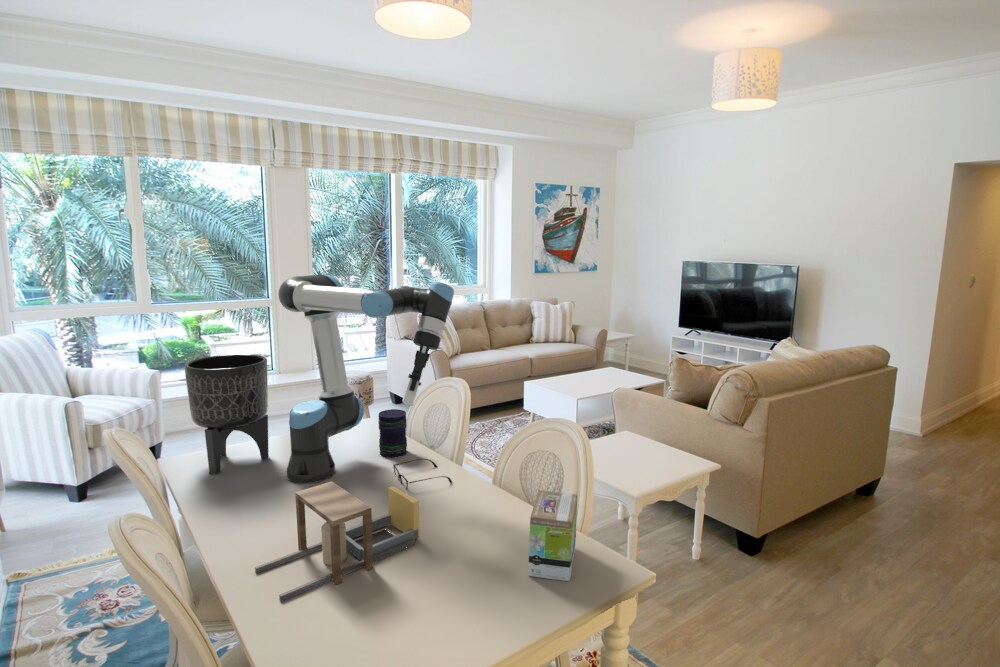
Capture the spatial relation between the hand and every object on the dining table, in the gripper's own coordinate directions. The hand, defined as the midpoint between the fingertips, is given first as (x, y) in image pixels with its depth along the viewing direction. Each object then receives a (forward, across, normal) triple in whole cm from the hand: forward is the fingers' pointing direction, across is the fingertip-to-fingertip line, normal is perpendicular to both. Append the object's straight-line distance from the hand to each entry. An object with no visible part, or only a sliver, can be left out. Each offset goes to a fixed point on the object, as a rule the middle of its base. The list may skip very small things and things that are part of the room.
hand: (407, 404), depth 162 cm
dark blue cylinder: (+16, +47, 0) cm, 50 cm away
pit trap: (+36, -12, -2) cm, 38 cm away
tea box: (+28, -26, -44) cm, 58 cm away
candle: (+41, -17, +6) cm, 45 cm away
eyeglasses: (+21, +25, -11) cm, 34 cm away
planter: (+33, +48, +52) cm, 78 cm away
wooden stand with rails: (+41, -17, +6) cm, 45 cm away
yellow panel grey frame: (+35, -11, -3) cm, 37 cm away
